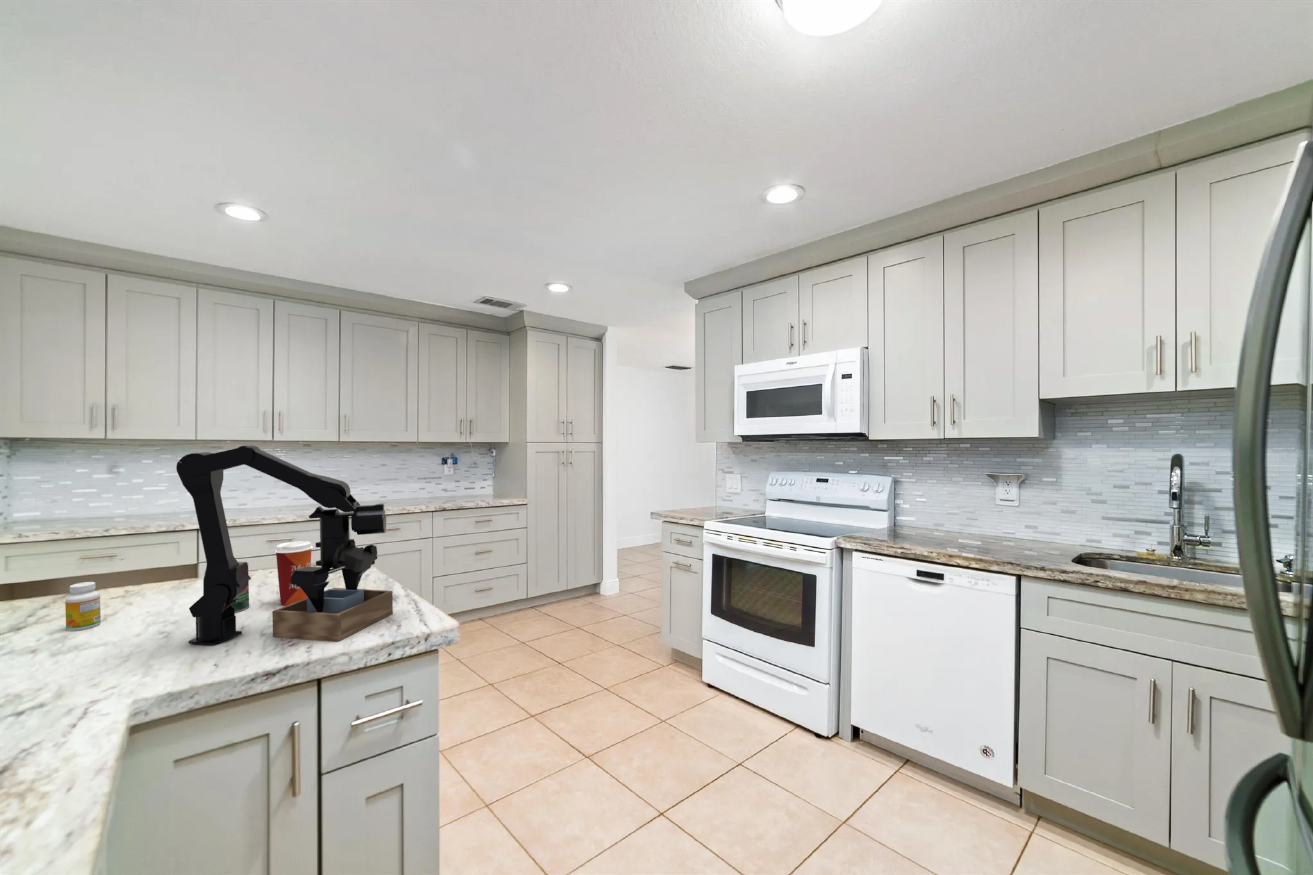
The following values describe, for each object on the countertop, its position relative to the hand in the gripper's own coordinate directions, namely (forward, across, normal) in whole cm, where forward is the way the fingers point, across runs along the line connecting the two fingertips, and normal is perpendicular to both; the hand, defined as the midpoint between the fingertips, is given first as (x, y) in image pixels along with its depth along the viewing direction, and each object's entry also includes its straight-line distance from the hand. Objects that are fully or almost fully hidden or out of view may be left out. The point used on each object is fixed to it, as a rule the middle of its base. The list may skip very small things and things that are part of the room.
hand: (336, 605), depth 121 cm
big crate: (+4, 0, 0) cm, 4 cm away
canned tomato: (+5, +4, +34) cm, 35 cm away
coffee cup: (+5, +12, +23) cm, 27 cm away
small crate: (+3, 0, 0) cm, 3 cm away
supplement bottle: (+5, -10, +56) cm, 57 cm away
